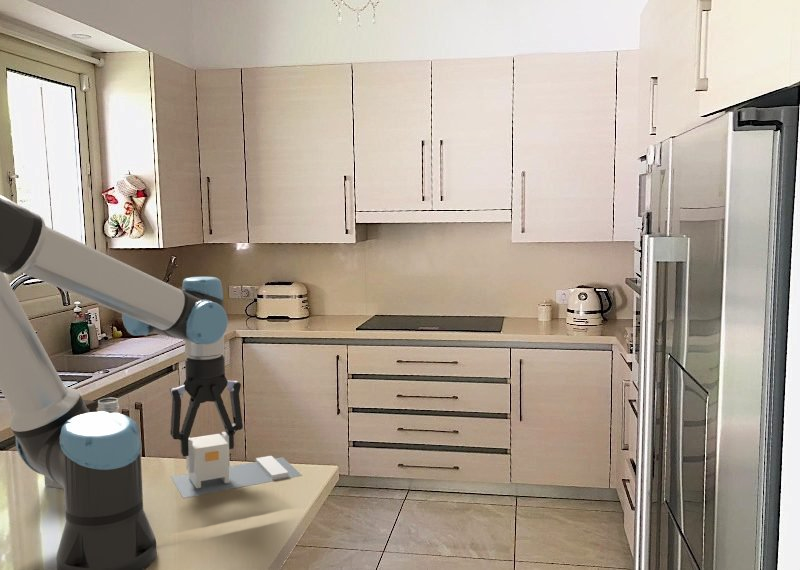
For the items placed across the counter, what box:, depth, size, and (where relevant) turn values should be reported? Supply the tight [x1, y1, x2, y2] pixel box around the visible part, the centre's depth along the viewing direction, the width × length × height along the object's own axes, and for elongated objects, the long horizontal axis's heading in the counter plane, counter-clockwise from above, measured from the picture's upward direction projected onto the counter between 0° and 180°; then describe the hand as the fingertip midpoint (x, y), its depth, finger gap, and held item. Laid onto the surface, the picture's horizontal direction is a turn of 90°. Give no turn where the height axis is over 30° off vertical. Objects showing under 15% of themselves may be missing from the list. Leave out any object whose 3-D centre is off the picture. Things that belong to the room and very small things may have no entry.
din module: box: [187, 433, 230, 488], centre depth 150 cm, size 7×6×8 cm
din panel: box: [170, 455, 303, 499], centre depth 153 cm, size 12×24×2 cm, turn 118°
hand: (208, 467), depth 150 cm, fingers closed on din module, 6 cm apart
